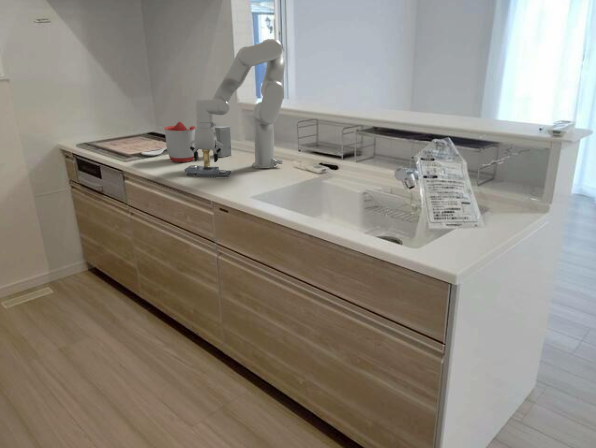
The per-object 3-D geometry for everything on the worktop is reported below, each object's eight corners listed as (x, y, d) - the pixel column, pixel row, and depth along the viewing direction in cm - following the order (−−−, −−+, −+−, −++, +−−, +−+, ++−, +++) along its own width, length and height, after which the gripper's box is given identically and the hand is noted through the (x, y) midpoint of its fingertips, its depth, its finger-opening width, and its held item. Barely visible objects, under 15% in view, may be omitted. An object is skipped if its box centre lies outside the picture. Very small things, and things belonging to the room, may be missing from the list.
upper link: (219, 173, 232) (218, 165, 230) (213, 177, 224) (213, 169, 223) (190, 171, 234) (190, 163, 232) (184, 175, 226) (184, 167, 225)
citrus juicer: (203, 157, 263) (202, 119, 256) (188, 164, 247) (186, 124, 240) (177, 155, 267) (175, 118, 260) (161, 162, 251) (157, 122, 244)
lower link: (231, 173, 231) (231, 169, 230) (226, 178, 223) (226, 173, 223) (202, 172, 233) (202, 167, 232) (197, 176, 225) (196, 171, 225)
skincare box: (221, 158, 262) (220, 128, 257) (212, 156, 266) (210, 126, 261) (232, 155, 269) (231, 126, 263) (223, 153, 273) (222, 125, 267)
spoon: (196, 150, 282) (195, 144, 280) (147, 158, 259) (147, 152, 258) (186, 147, 287) (186, 142, 286) (138, 156, 264) (137, 149, 263)
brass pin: (212, 168, 240) (211, 148, 236) (209, 170, 236) (208, 150, 233) (204, 168, 241) (203, 147, 237) (201, 170, 237) (200, 149, 233)
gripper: (224, 125, 233) (225, 160, 239) (190, 123, 236) (191, 158, 242) (219, 127, 226) (221, 163, 232) (184, 125, 229) (186, 161, 235)
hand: (206, 161), depth 237 cm, fingers open, 9 cm apart
